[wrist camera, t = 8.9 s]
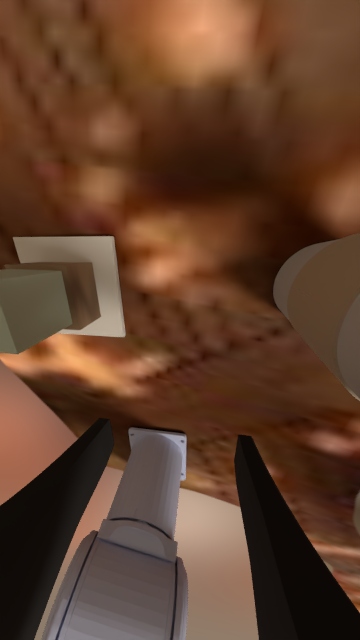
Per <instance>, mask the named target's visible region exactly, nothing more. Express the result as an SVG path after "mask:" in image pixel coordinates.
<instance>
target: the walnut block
mask: <svg viewBox="0 0 360 640" xmlns="http://www.w3.org/2000/svg"><path fill="white" fill-rule="evenodd" d="M4 267H5V269H25V270H51V271H61V272H62V276H63V281H64V286H65V291H66V295H67V300H68V305H69V310H70V314H71V319H72V324H71V325H70V326H68V327H66V328H64V329H67V330H81V329H83V328H84V327H86V326H88V325H89V324H91V323H92V322H94V321H95V320H97V319H98V318H100V317H101V313H100V307H99V301H98V295H97V289H96V283H95V277H94V271H93V264H92V262H32V263H18V264H5V265H4Z"/></svg>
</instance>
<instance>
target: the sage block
mask: <svg viewBox="0 0 360 640" xmlns="http://www.w3.org/2000/svg"><path fill="white" fill-rule="evenodd" d="M71 324H72V319H71V314H70V310H69V305H68V300H67V295H66V291H65V286H64V281H63V276H62V272H61V271H51V270H25V269H5V270H0V353H10V354H19V353H21V352H23V351H25V350H26V349H28V348H30V347H32V346H34V345H35V344H37V343H39V342H41V341H43V340H44V339H46V338H48V337H50V336H52V335H53V334H55V333H57V332H59V331H61V330H62V329H64V328H66V327H68V326H70V325H71Z"/></svg>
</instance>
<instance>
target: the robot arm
mask: <svg viewBox="0 0 360 640" xmlns="http://www.w3.org/2000/svg"><path fill="white" fill-rule="evenodd" d="M128 432H129V439H130V446H131V454H130V457H129V459H128V462H127V465H126V467H125V470H124V473H123V476H122V478H121V481H120V484H119V486H118V489H117V492H116V495H115V497H114V500H113V503H112V505H111V508H110V511H109V513H108V516H107V519H103V521H102V524H101V527H100V529H99V532H98V531H95V530H93V531H91V532H90V534H89V535H87V536H86V537H85V538H84V539H83V540H82V541H81V543H80V545H79V547H78V549H77V550H76V553H75V555H74V557H73V559H72V561H71V563H70V565H69V567H68V570H67V572H66V574H65V577H64V579H63V581H62V584H61V586H60V589H59V591H58V594H57V596H56V599H55V601H54V604H53V606H52V609H51V612H50V615H49V617H48V620H47V623H46V626H45V630H44V632H43V635H42V639H41V640H186V628H187V611H188V580H187V573H186V570H185V567H184V565H183V561H182V559H181V558H180V557H177V556H176V554H177V542H176V541H174V533H175V524H176V516H177V506H178V497H179V488H180V480H185V479H186V435H185V434H183V433H174V432H166V431H158V430H150V429H142V428H134V427H131V428H129V431H128ZM113 446H114V440H113V434H112V429H111V424H110V419H104V418H99V419H98V420H97V421H96V422H95V423H94V424H93V425H92V426H91V427H90V428H89V429H88V430H87V431H86V432H85V433H84V434H83V435H82V436H81V437H80V438H79V439H78V440H77V441H76V442H74V443H73V444H72V445H71V446H70V447H69V448H68V449H67V450H66V451H65V452H64V453H63V454H62V455H61V456H60V457H59V458H58V459H56V460H55V461H54V462H53V463H52V464H51V465H50V466H49V467H47V468H46V469H45V470H44V471H43V472H42V473H41V474H39V475H38V476H37V477H36V478H35V479H34V480H32V481H31V482H30V483H29V484H27V485H26V486H25V487H24V488H22V489H21V490H20V491H19V492H18V493H16V494H15V495H14V496H13V497H11V498H10V499H9V500H7V501H6V502H5V503H3V504H2V505H1V506H0V640H34V638H35V635H36V632H37V630H38V627H39V624H40V622H41V619H42V616H43V613H44V611H45V608H46V605H47V602H48V600H49V597H50V594H51V592H52V589H53V586H54V584H55V581H56V579H57V576H58V573H59V571H60V568H61V565H62V563H63V560H64V558H65V555H66V553H67V550H68V548H69V545H70V543H71V540H72V538H73V536H74V533H75V531H76V528H77V526H78V524H79V522H80V519H81V517H82V515H83V513H84V511H85V509H86V507H87V504H88V503H89V500H90V498H91V496H92V494H93V492H94V490H95V488H96V486H97V484H98V482H99V480H100V478H101V476H102V474H103V471H104V469H105V467H106V465H107V462H108V460H109V457H110V454H111V452H112V449H113ZM234 463H235V474H236V484H237V490H238V496H239V501H240V507H241V512H242V518H243V524H244V529H245V535H246V540H247V546H248V552H249V558H250V565H251V573H252V581H253V590H254V599H255V607H256V617H257V626H258V635H259V640H360V613H359V611H358V610H357V608H356V607H355V606H354V604H353V603H352V602H351V600H350V599H349V597H348V596H347V595H346V593H345V592H344V591H343V589H342V588H341V586H340V585H339V584H338V582H337V581H336V579H335V578H334V576H333V575H332V573H331V572H330V571H329V569H328V568H327V566H326V565H325V563H324V562H323V560H322V559H321V557H320V556H319V554H318V553H317V551H316V550H315V548H314V547H313V545H312V544H311V542H310V541H309V539H308V538H307V536H306V535H305V533H304V531H303V530H302V528H301V527H300V525H299V523H298V522H297V520H296V519H295V517H294V515H293V514H292V512H291V510H290V509H289V507H288V505H287V504H286V502H285V500H284V498H283V497H282V495H281V493H280V491H279V490H278V488H277V486H276V484H275V482H274V481H273V479H272V477H271V475H270V473H269V471H268V470H267V468H266V466H265V464H264V462H263V460H262V458H261V456H260V454H259V452H258V449H257V447H256V445H255V443H254V441H253V438H252V437H251V436H246V435H238V440H237V447H236V453H235V459H234Z"/></svg>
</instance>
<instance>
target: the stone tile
mask: <svg viewBox="0 0 360 640" xmlns="http://www.w3.org/2000/svg"><path fill="white" fill-rule="evenodd" d="M13 240H14V243H15V247H16V250H17V253H18V257H19V260H20V263H32V262H92V264H93V271H94V277H95V283H96V289H97V295H98V301H99V307H100V313H101V317H100V318H98V319H97V320H95V321H94V322H92V323H91V324H89V325H88V326H86V327H84V328H83V329H81V330H67V329H62V330H61V331H59V332H57V333H63V334H80V335H96V336H113V337H124V336H125V335H126V334H125V325H124V317H123V308H122V300H121V292H120V283H119V275H118V266H117V258H116V250H115V241H114V237H113V236H81V237H13Z"/></svg>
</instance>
